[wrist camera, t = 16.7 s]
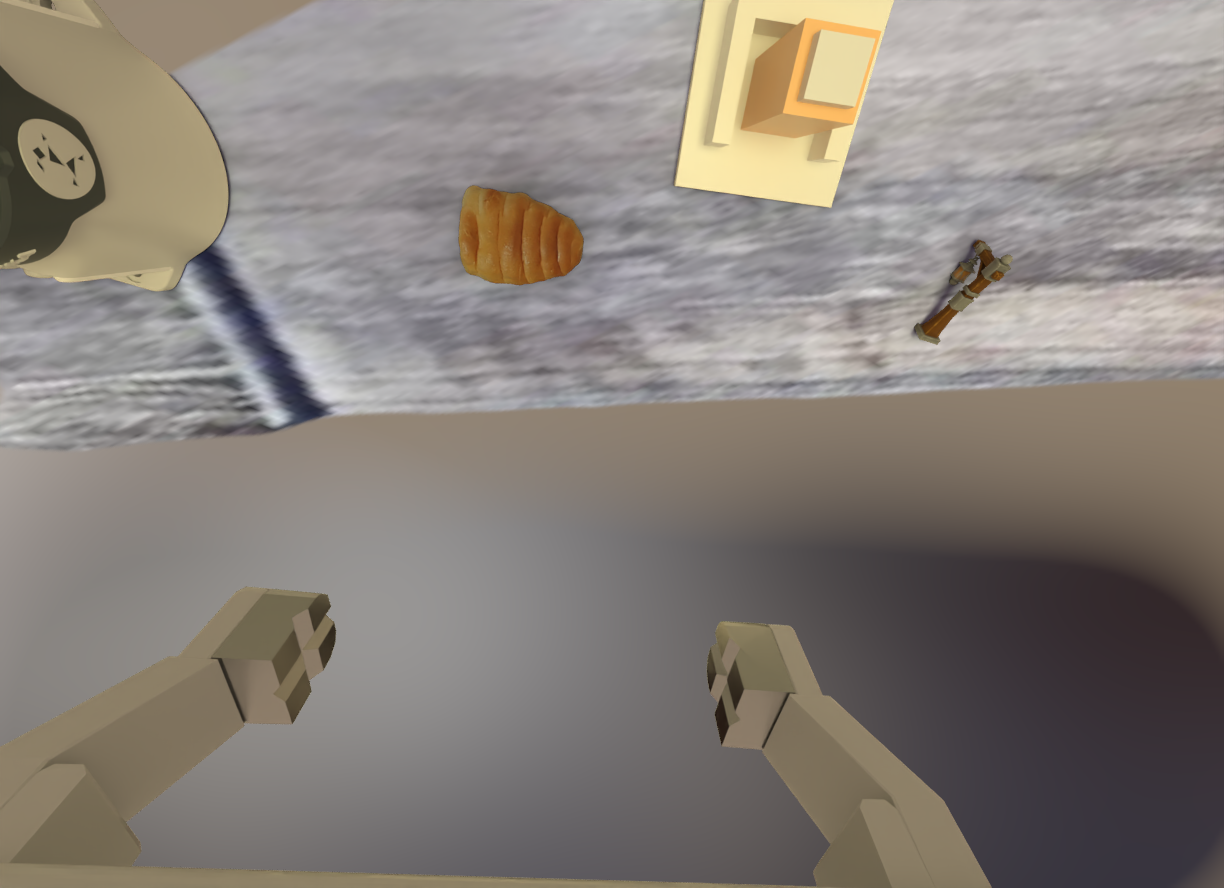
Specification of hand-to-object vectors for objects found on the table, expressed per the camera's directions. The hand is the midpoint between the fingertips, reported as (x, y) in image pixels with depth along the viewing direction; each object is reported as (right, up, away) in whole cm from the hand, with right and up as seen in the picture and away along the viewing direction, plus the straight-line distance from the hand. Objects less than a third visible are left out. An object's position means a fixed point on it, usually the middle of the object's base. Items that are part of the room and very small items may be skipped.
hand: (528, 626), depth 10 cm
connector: (+13, +28, +23) cm, 38 cm away
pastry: (-6, +21, +28) cm, 35 cm away
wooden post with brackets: (+30, +17, +31) cm, 46 cm away
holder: (+13, +28, +24) cm, 39 cm away
